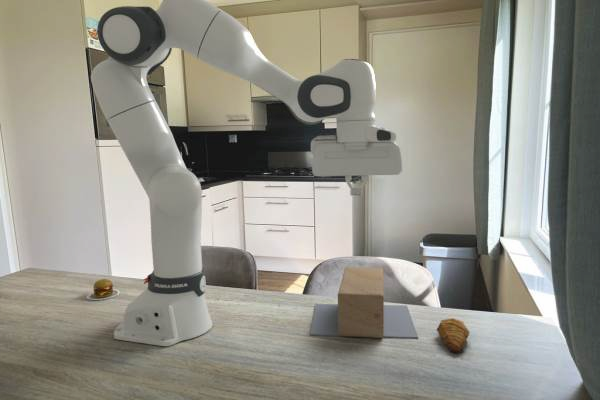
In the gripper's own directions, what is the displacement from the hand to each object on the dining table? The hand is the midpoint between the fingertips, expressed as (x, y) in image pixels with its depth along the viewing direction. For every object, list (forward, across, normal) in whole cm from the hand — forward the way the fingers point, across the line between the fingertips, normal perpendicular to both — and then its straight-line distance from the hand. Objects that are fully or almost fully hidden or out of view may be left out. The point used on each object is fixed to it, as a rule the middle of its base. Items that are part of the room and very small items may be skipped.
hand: (356, 195), depth 96 cm
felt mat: (+31, +1, +2) cm, 31 cm away
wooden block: (+26, 0, -8) cm, 27 cm away
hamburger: (+32, -75, +15) cm, 83 cm away
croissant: (+32, +20, -7) cm, 38 cm away
